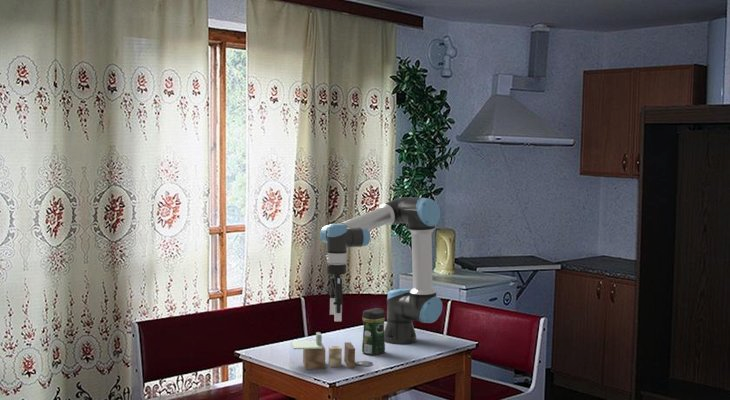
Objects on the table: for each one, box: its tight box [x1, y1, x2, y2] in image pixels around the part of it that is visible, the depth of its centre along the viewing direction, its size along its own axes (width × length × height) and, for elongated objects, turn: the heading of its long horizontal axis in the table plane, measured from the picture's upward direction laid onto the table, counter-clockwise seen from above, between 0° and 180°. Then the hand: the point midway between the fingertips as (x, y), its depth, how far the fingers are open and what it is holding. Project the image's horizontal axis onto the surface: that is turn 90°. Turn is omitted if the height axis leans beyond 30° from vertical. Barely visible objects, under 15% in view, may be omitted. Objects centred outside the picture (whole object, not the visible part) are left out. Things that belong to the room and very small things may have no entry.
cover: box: [290, 331, 323, 350], centre depth 306 cm, size 11×12×5 cm
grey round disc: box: [355, 360, 373, 367], centre depth 310 cm, size 7×7×1 cm
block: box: [327, 345, 343, 368], centre depth 308 cm, size 4×4×7 cm
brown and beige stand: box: [302, 341, 356, 370], centre depth 308 cm, size 19×11×8 cm, turn 100°
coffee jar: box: [361, 307, 386, 356], centre depth 329 cm, size 10×8×19 cm
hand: (335, 317), depth 308 cm, fingers open, 13 cm apart
